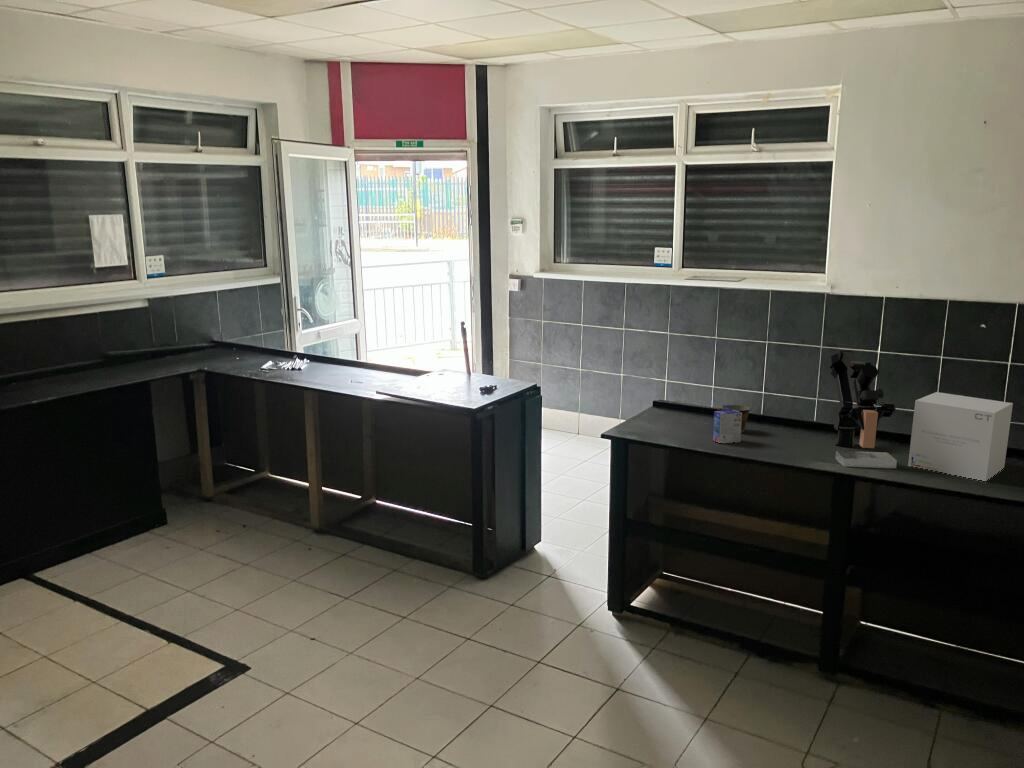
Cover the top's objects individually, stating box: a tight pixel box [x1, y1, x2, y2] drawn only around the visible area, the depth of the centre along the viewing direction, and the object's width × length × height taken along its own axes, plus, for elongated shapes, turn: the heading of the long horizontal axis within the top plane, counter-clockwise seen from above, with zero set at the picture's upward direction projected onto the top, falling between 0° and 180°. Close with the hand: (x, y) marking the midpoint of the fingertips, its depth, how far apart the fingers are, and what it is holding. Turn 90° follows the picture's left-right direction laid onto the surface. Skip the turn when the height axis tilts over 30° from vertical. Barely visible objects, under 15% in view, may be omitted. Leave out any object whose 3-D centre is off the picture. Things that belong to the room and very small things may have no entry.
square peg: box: [858, 410, 878, 449], centre depth 287 cm, size 4×4×13 cm
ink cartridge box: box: [712, 404, 742, 444], centre depth 316 cm, size 10×6×14 cm, turn 106°
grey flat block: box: [835, 450, 898, 470], centre depth 289 cm, size 10×18×3 cm, turn 84°
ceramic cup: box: [716, 404, 750, 433], centre depth 333 cm, size 13×10×10 cm
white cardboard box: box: [907, 391, 1014, 482], centre depth 283 cm, size 25×21×24 cm
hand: (869, 429), depth 286 cm, fingers closed on square peg, 4 cm apart
